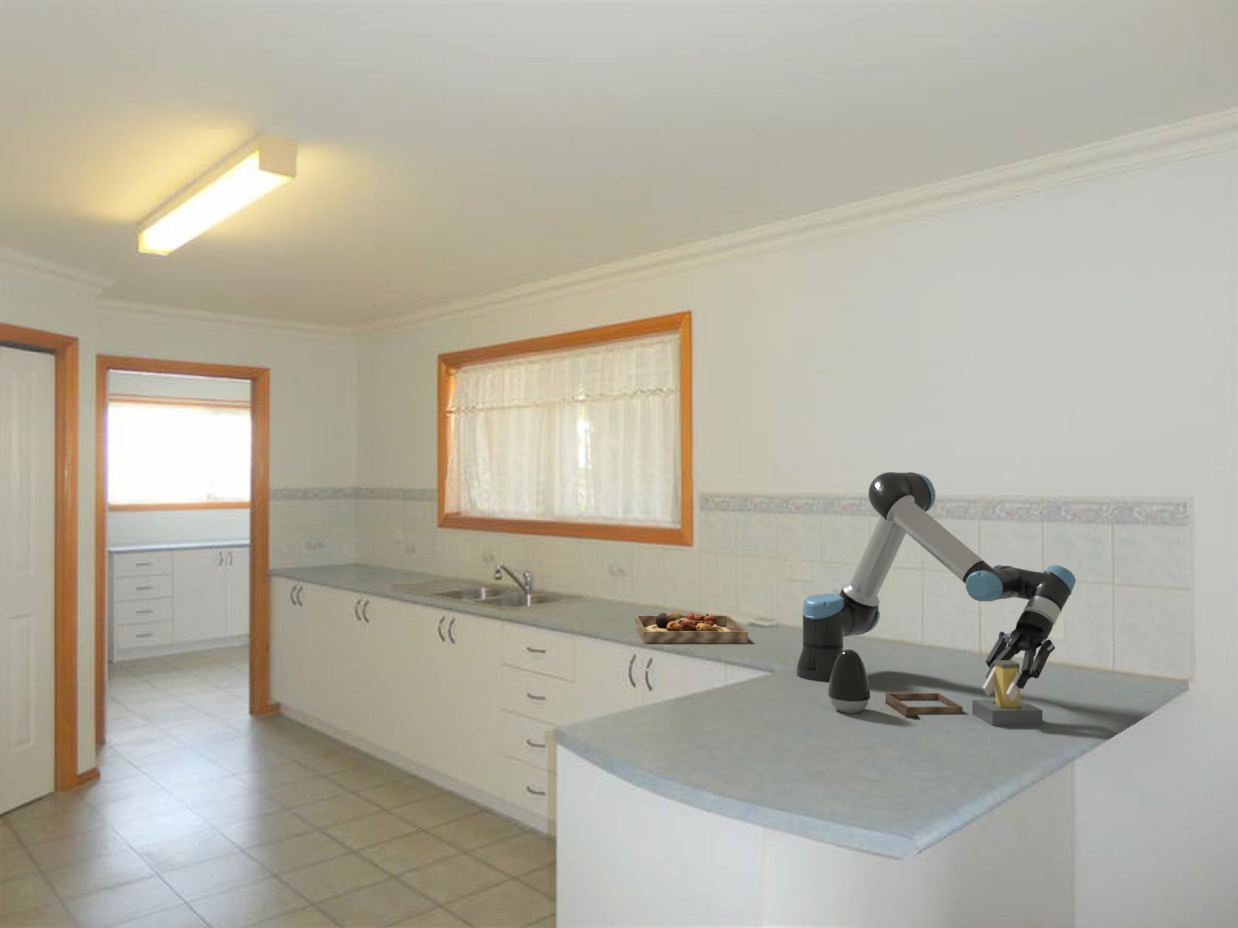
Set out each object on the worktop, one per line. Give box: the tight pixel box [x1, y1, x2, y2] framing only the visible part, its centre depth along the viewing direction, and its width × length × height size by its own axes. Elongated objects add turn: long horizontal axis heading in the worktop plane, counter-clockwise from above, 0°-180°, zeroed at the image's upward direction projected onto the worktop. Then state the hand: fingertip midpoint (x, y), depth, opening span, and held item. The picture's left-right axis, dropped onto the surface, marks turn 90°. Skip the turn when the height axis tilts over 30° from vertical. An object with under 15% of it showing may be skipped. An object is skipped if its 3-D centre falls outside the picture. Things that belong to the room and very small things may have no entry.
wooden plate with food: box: [645, 610, 731, 631], centre depth 327 cm, size 32×32×8 cm
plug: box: [994, 659, 1021, 708], centre depth 210 cm, size 4×4×12 cm
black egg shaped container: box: [827, 649, 871, 714], centre depth 220 cm, size 10×10×15 cm
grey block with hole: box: [971, 699, 1043, 727], centre depth 209 cm, size 12×10×4 cm
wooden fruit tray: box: [634, 614, 749, 644], centre depth 327 cm, size 37×37×4 cm
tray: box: [885, 692, 964, 718], centre depth 221 cm, size 14×14×2 cm
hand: (997, 694), depth 208 cm, fingers closed on plug, 5 cm apart
